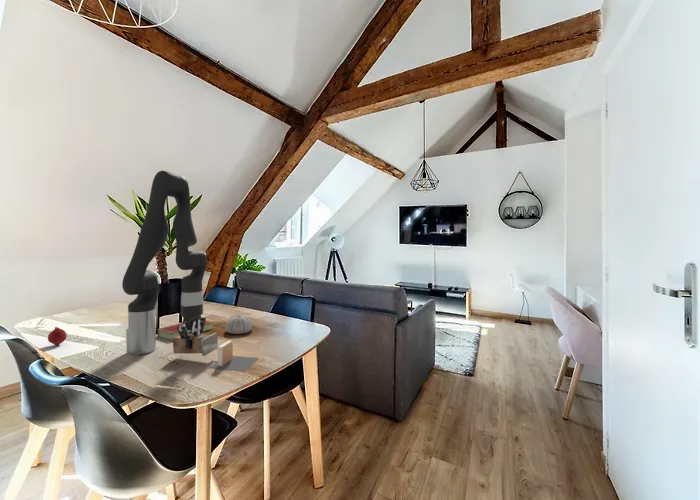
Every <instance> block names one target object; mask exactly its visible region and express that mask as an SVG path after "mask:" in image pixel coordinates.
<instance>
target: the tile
mask: <svg viewBox="0 0 700 500" xmlns="http://www.w3.org/2000/svg"><path fill="white" fill-rule="evenodd" d="M233 344H234V343H233V340H227V341H225V342H223V343H221V344H219V345H218V348H217V362H218V366H223V365H224V364H226V363H227V362H228V361H230V360H231V359H233V356H234V355H233V353H234V352H233V350H234V348H233V346H234V345H233Z"/></svg>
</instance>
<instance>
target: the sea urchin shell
mask: <svg viewBox="0 0 700 500" xmlns="http://www.w3.org/2000/svg"><path fill="white" fill-rule="evenodd" d="M253 324H254V323H253V322H252V320H251V319H250V318H249V317H247V316H246V315H242V314H241V315H235V316H233V317H231V318H229V320H227V322H226V323H225V326H224V329H225V332H227V334H233V335H242V334H246V333H249V332H251V330H252V329H253V327H254V325H253Z"/></svg>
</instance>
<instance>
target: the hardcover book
mask: <svg viewBox="0 0 700 500" xmlns="http://www.w3.org/2000/svg"><path fill="white" fill-rule="evenodd" d="M213 323H214V322H213V321H209V320H206V321H205V325H204V329H203V332H206V331H209V330H213V329H212V327H213V325H212V324H213ZM182 324H183V322H181V323H178V324H177V323H176V324H173V325H170V326H169V325H168V326H165V327H161V328H158V329H157V333H156V334H157V337H161V338H164V339H166V338H167V339H166V340H170V341H173V339H172V338H174V337H176V336H180V335H179V332H178V330H177V327H178V326H181V325H182ZM200 329H201V326H200ZM188 331H191V330H188ZM188 335H189V333H188Z"/></svg>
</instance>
